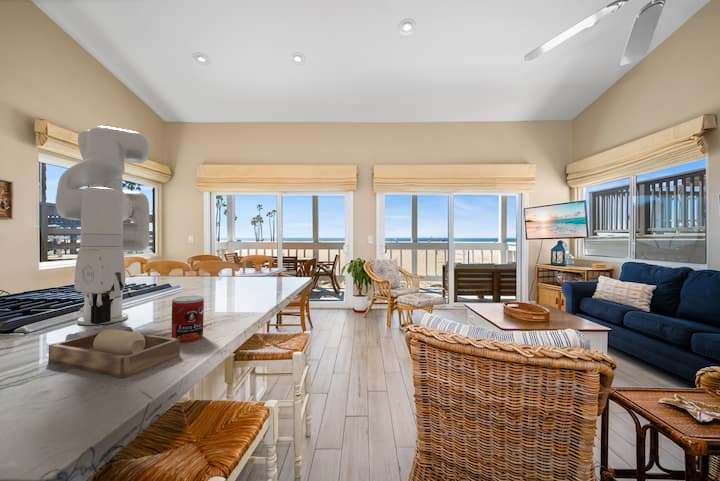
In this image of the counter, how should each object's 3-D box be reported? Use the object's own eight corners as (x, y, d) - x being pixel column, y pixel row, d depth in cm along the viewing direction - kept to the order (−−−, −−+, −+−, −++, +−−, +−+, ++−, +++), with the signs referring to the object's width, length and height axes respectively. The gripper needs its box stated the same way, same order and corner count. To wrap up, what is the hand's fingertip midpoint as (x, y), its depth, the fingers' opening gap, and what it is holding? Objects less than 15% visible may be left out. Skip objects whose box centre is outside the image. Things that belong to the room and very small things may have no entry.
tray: (48, 362, 69) (48, 345, 69) (111, 344, 81) (111, 329, 81) (123, 378, 62) (124, 358, 62) (179, 355, 74) (179, 339, 74)
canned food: (174, 345, 81) (175, 302, 81) (168, 337, 87) (169, 297, 87) (206, 339, 86) (207, 298, 86) (198, 332, 92) (199, 294, 92)
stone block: (59, 355, 78) (88, 351, 75) (57, 335, 78) (86, 331, 76) (109, 342, 89) (136, 339, 87) (108, 325, 90) (134, 321, 87)
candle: (107, 323, 73) (139, 328, 70) (123, 337, 76) (154, 342, 73) (86, 345, 69) (120, 351, 66) (104, 358, 72) (137, 364, 69)
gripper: (60, 241, 72) (59, 323, 72) (108, 243, 67) (106, 330, 67) (96, 241, 79) (95, 315, 79) (142, 243, 74) (140, 321, 74)
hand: (100, 322), depth 73 cm, fingers closed
